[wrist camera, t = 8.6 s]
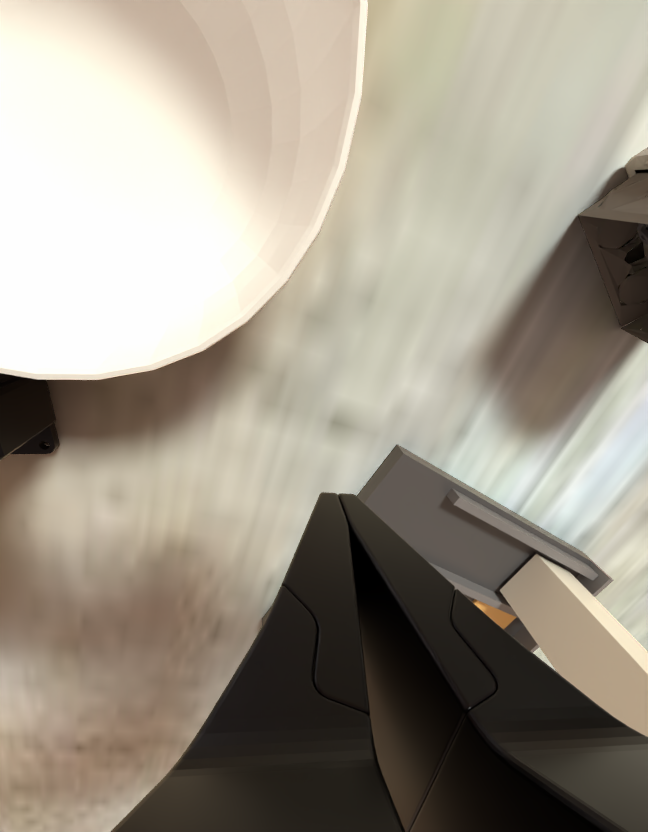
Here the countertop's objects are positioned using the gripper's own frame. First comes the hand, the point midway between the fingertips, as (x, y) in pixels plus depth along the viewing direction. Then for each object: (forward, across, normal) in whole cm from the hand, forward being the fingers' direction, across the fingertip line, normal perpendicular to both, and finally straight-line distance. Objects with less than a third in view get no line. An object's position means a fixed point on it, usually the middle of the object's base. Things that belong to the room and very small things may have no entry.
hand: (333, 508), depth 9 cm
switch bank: (+12, -12, +16) cm, 23 cm away
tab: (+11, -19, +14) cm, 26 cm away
